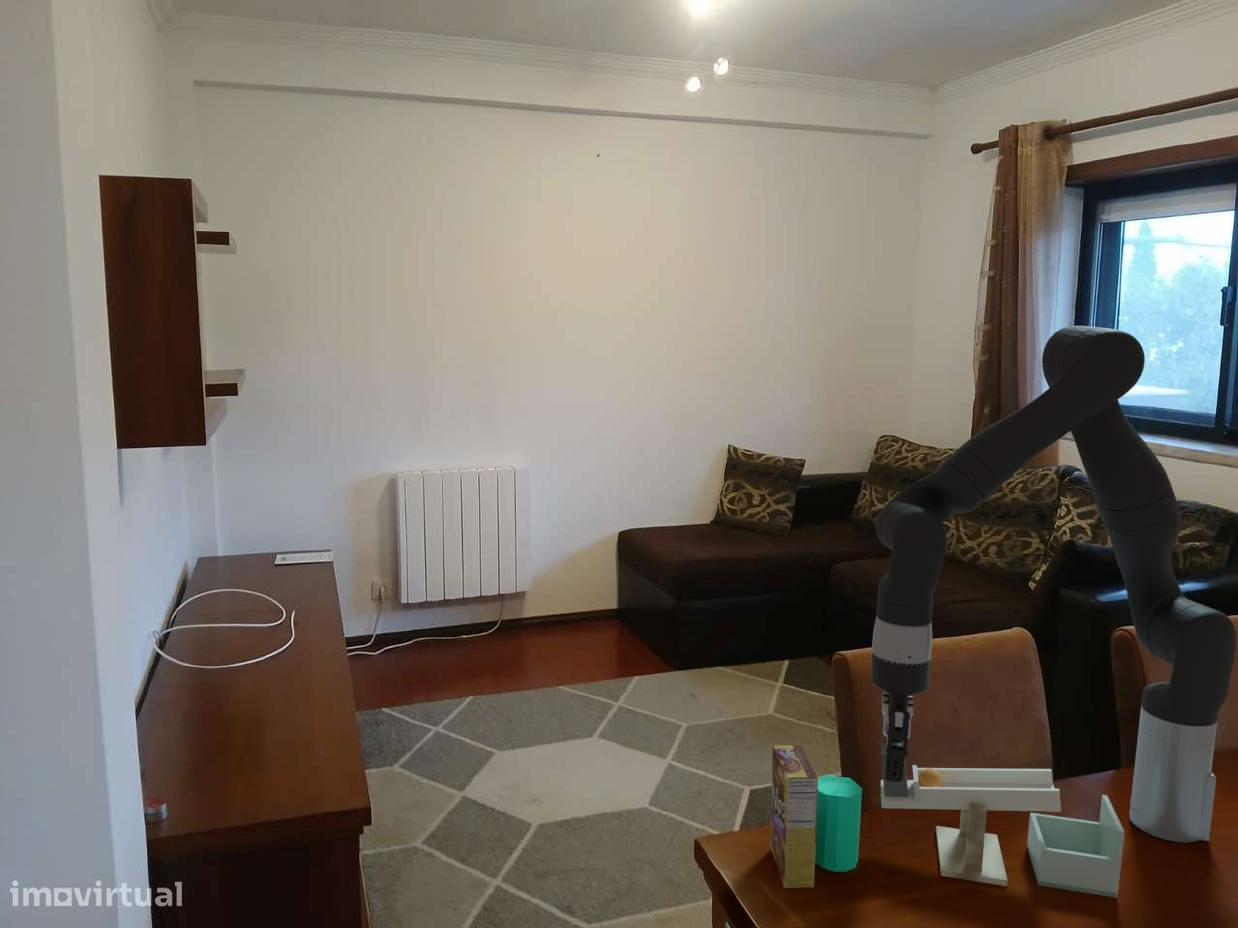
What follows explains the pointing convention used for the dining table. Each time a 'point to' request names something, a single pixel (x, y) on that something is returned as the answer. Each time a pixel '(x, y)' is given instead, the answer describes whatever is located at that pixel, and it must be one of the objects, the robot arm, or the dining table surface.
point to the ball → (929, 778)
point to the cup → (1077, 851)
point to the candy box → (793, 816)
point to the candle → (837, 823)
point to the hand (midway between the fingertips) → (893, 765)
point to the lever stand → (971, 849)
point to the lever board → (973, 789)
